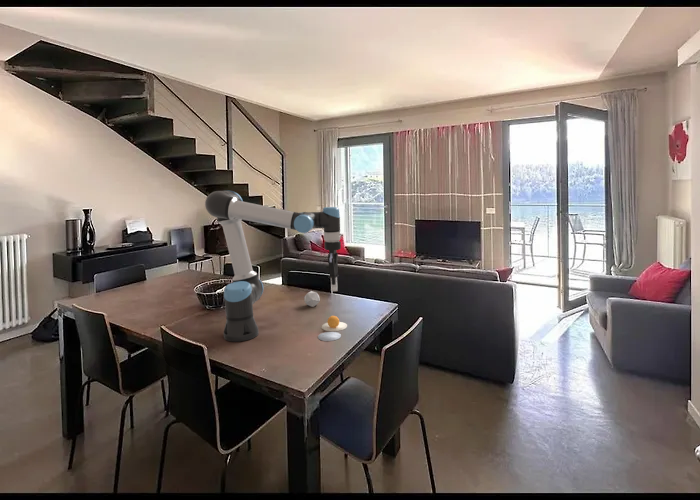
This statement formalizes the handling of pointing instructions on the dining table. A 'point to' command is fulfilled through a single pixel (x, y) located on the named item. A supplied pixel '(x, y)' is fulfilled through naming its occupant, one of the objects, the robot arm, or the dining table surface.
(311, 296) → the die
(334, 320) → the ball
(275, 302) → the dining table surface
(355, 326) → the dining table surface
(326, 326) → the disc
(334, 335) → the disc
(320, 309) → the dining table surface
